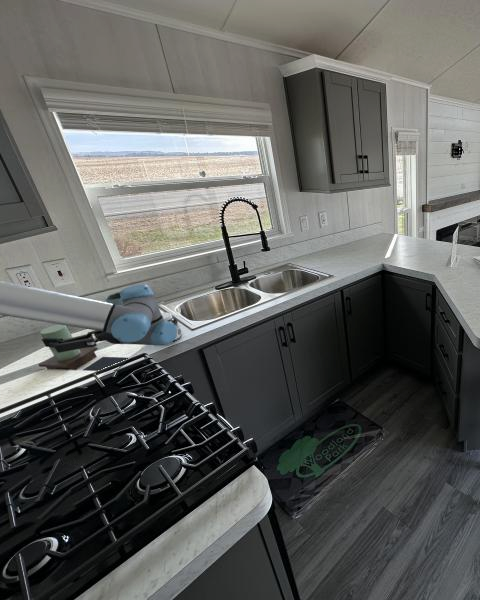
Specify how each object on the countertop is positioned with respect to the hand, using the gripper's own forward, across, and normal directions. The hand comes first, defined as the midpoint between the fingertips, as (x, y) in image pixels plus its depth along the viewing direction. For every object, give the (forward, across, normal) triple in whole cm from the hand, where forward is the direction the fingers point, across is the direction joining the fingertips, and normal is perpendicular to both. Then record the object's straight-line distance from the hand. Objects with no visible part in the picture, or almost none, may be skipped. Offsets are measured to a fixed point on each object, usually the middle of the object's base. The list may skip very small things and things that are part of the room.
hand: (67, 331), depth 106 cm
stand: (+22, +11, -22) cm, 33 cm away
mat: (+7, +9, -22) cm, 25 cm away
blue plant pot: (+34, +49, -22) cm, 63 cm away
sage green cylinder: (+22, +11, -18) cm, 30 cm away
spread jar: (-3, +30, -22) cm, 37 cm away
